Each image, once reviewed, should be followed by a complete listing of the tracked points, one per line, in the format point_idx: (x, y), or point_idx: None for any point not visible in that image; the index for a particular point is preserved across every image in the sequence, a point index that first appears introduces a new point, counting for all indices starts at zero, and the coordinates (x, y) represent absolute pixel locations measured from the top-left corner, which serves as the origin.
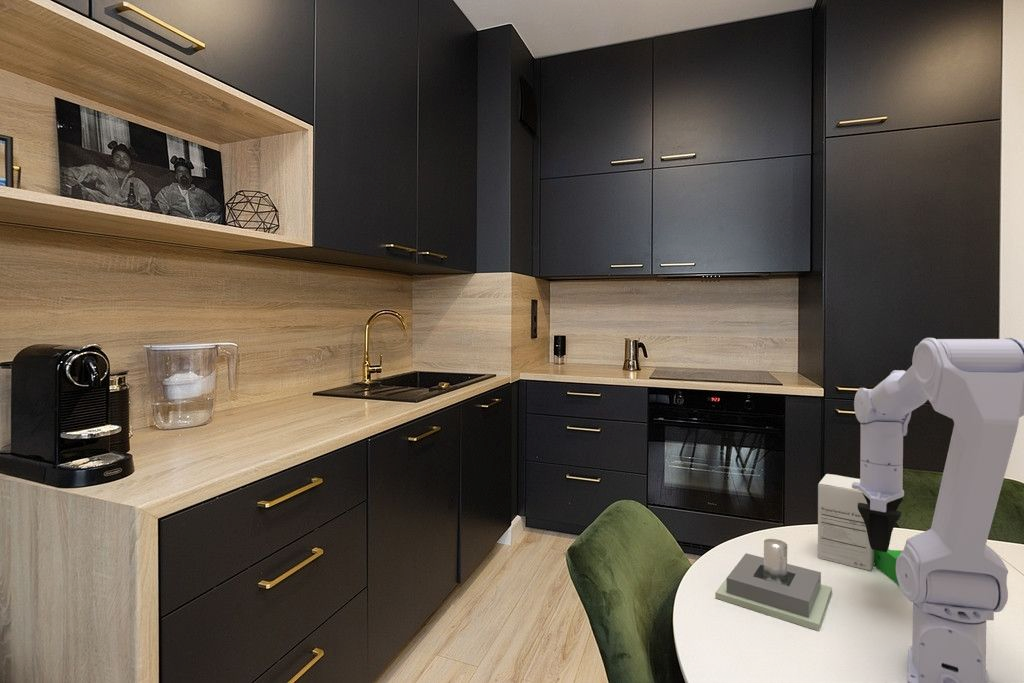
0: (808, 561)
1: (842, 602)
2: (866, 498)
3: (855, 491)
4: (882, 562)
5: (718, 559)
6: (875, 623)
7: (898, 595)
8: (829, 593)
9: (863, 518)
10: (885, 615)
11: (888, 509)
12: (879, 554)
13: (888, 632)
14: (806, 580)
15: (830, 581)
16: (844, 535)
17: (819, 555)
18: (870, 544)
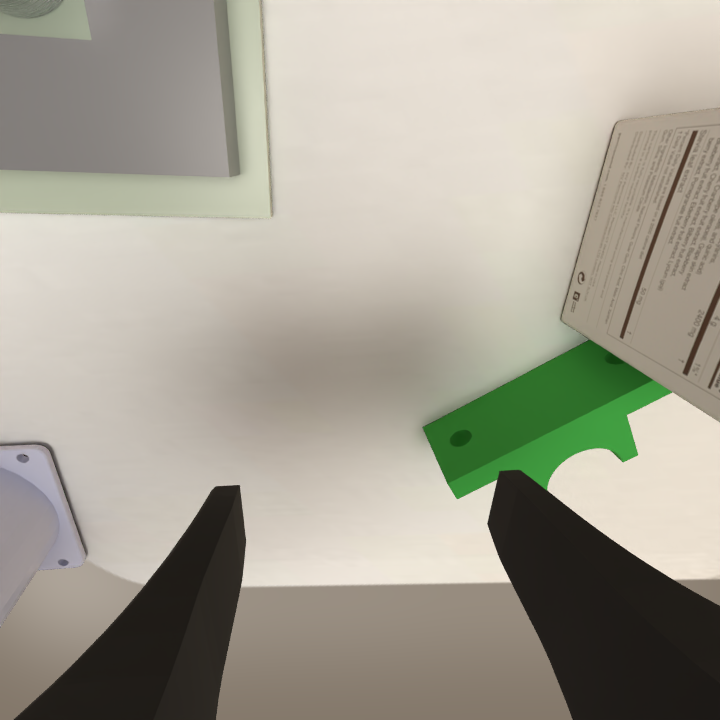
0: (558, 81)
1: (216, 258)
2: (706, 688)
3: None
4: (589, 367)
5: None
6: (137, 361)
7: (402, 400)
8: (195, 216)
9: (25, 711)
10: (222, 380)
11: (590, 704)
12: (624, 366)
13: (107, 394)
14: (48, 116)
15: (384, 199)
16: (684, 260)
17: (621, 127)
18: (204, 505)
